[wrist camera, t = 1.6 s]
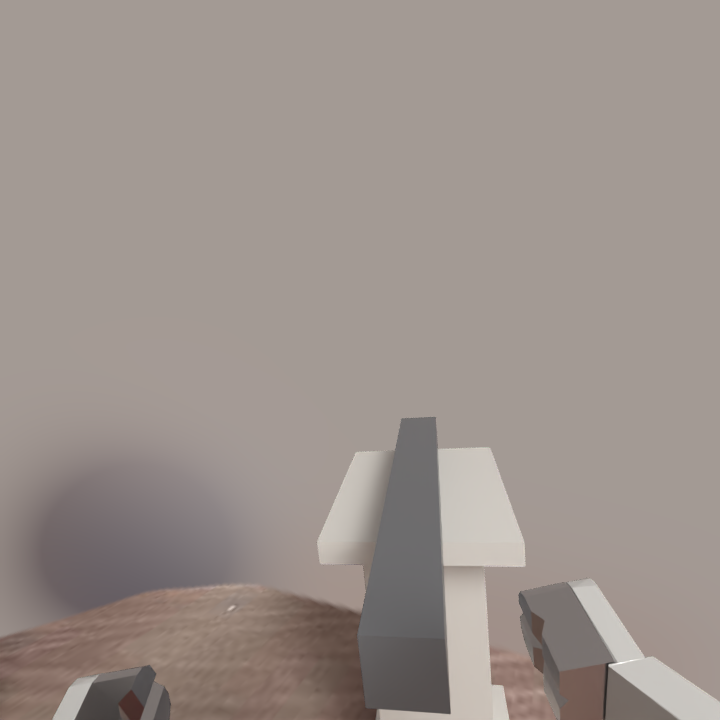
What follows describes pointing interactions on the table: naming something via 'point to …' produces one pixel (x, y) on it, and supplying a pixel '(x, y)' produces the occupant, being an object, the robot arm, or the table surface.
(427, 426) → the bar
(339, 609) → the table surface
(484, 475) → the stand
